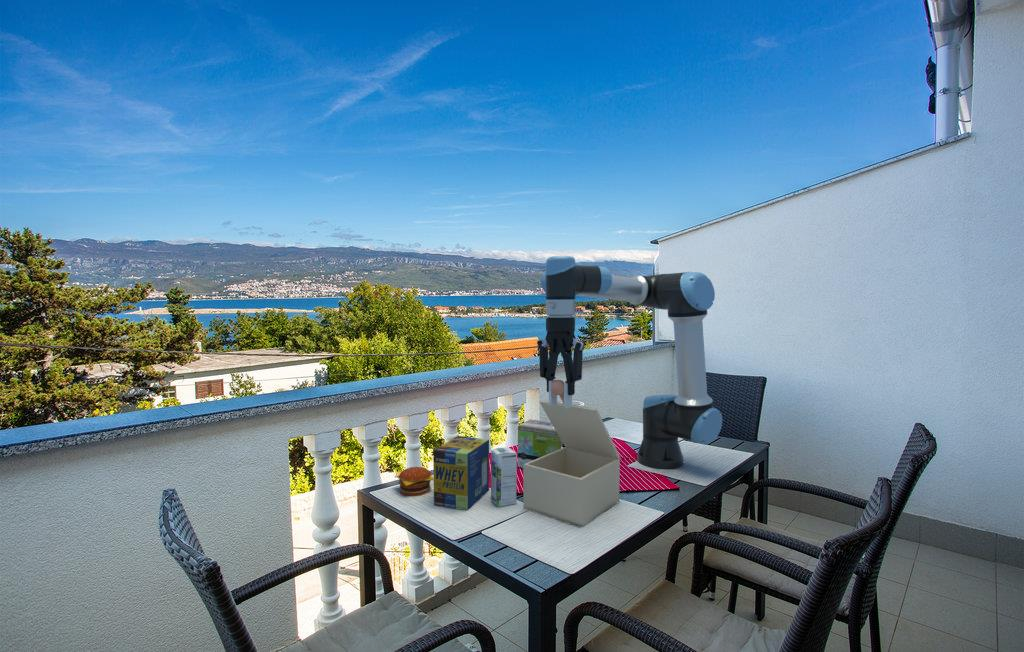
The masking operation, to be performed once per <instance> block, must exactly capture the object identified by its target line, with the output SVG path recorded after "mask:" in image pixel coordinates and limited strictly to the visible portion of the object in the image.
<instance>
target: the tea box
mask: <svg viewBox="0 0 1024 652" xmlns="http://www.w3.org/2000/svg"><path fill="white" fill-rule="evenodd" d="M559 449H561V439H560V437H559V435H558V434H557V432H556V430H555V428H553V425H552V423H551V421H545V420H538V419H531V418H530V419H528V420H527V421H525V422H523V423H521V424H519V425H517V468H518V467H521V468H520V469H523V464H526V463H528V462H530V461H533V460H535V459H538V458H540V457H542V456H545V455H547V454H550V453H552V452H554V451H557V450H559Z"/></svg>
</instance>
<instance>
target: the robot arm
mask: <svg viewBox="0 0 1024 652" xmlns="http://www.w3.org/2000/svg"><path fill="white" fill-rule="evenodd" d="M540 286H541V289H542V290H543V292H544V293H545V315H546V316H548V317H546V318H545V331H546V335H545V338H543V339H540V340H537V342H536V344H537V346H538V352H539V353H538V354H539V376H540V378H543V379H545V380H546V392H547V393H548V401H549V406H553V405H557V402H558V395H555V394H554V393H553V392H552V391H551V384H552V382H554V381H555V380H557V378H556V372H557V365H558V359H559V356H561V357H562V362H563V367H564V373H565V379H566V380H565V382H564V408H570V407H572V404H573V396H574V395H575V393H576V392H575V391H576V389H575V388H576V387H575V386H576V382H578V381H581V380H582V378H583V355H584V354H583V352H584V348H585V346H586V344H585V342H584V341H579V340H577V338H576V336H575V331H576V319H575V317H574V316H575V315H576V297H584V298H595V299H604V300H605V299H606V300H612V301H613V300H615V301H624V302H629V303H630V304H631V305H633V306H634V305H635V306H640V307H641V306H642V307H645V308H646V307H647V308H653V309H656V310H664V311H665V310H667V318H668V319H670V320H671V321H672V322H673V333H674V346H675V349H674V350H675V361H676V363H675V364H676V373H677V374H676V377H677V388H678V389H677V391H678V395H676V394H656V395H649V396H646V397H644V399H643V404H642V405H643V407H642V440H641V443H640V446H639V449H638V452H637V461H638V463H639V464H642V465H644V466H646V467H650V468H655V469H666V470H667V469H677V468H680V467H682V466H683V465H684V456H683V455H684V454H683V452H682V450H681V449H682V448H681V446H680V443H679V439H682V440H686V441H689V442H692V443H695V444H698V443H699V444H703V445H708V444H710V443H713V442H714V441H715V440H716V438H718V435H720V432H721V429H722V426H723V415H722V413H721V412H720V410H719V409H718V408H715V407H714V402H713V398H712V397H710V395H709V394H708V388H707V387H708V386H707V385H708V383H707V369H706V355H705V340H704V339H705V338H704V323H703V320H704V319H705V318H706V317H707V316H708V310H709V309H710V308H712V307H713V305H714V301H715V297H716V295H715V294H716V293H715V287H714V284H713V283H712V281H711V279H710V278H709V277H708V275H706V274H705V273H703V272H697V271H694V272H693V271H683V272H673V273H660V274H651V275H638V274H636V275H634V276H632V277H628V276H621V275H613V274H612V272H611V271H610V269H609V268H608V267H606V266H600V265H579V264H577V263H576V259H575V257H574V256H570V255H555V256H549V257H548V258H547V259H546V262H545V272H544V273H543V274H542V276H541V279H540ZM548 346H549V347H548ZM572 348H573V351H572Z"/></svg>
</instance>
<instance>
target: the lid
mask: <svg viewBox="0 0 1024 652" xmlns="http://www.w3.org/2000/svg"><path fill="white" fill-rule="evenodd" d="M554 380H555V381H554V382H552V384H551V391H552V392H553V393H554V394H555V395H557V396H559V398H560V400H561V402H560V401H559V402H558V401H557V405H553V406H549V400H546V399H539V401H538V402H539V404H540V406H541V408H542V409H543V411H544V413H545V414H546V416H547V418H548V420H549V422H551V423H552V425H553V427H554V428H555V430H556V432H557V434H558V435H559V437H560V439H561V440H562V442H563V444H564V446H565V447H567V448H571V449H575V450H580V451H584V452H589V453H593V454H598V455H602V456H607V457H611V458H616V459H620V458H621V456H620V453H619V451H618V449H617V447H616V445H615V443H614V442H613V439H612V437H611V435H610V433H609V431H608V428H607V427H606V425H605V423H604V421H603V419H602V417H601V415H600V413H599V411H598V408H597V407H592V406H585V405H580V404H573V403H572V407H570V408H564V383H565V382H564V381H563V380H561V379H554Z"/></svg>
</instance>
